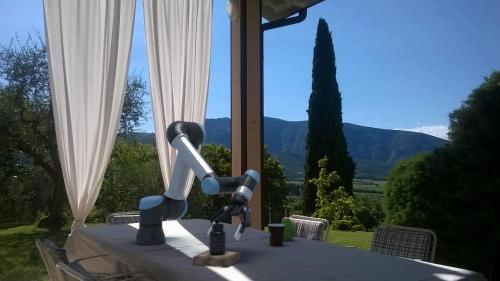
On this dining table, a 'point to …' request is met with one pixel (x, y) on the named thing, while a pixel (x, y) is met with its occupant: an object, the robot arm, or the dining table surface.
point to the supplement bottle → (217, 240)
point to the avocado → (288, 229)
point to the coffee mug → (276, 234)
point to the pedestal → (217, 259)
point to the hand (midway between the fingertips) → (222, 237)
